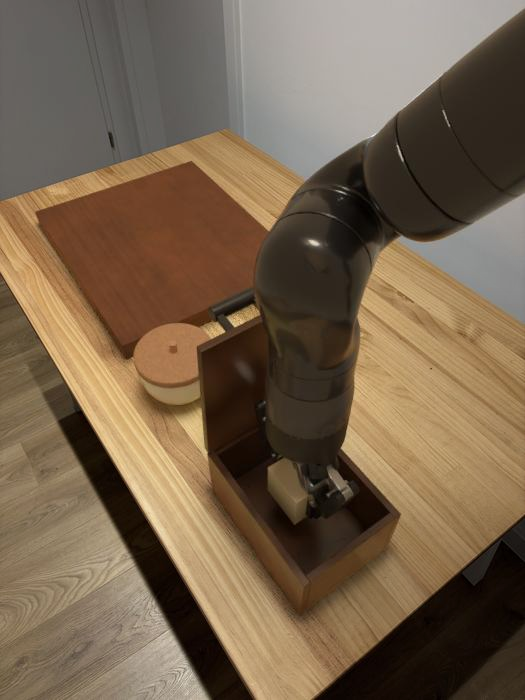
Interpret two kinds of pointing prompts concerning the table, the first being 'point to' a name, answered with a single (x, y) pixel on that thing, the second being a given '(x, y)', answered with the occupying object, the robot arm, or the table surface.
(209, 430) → the lid
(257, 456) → the chest
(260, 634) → the table surface
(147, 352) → the trinket box
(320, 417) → the robot arm
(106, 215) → the brown flat wooden slab
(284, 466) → the block
